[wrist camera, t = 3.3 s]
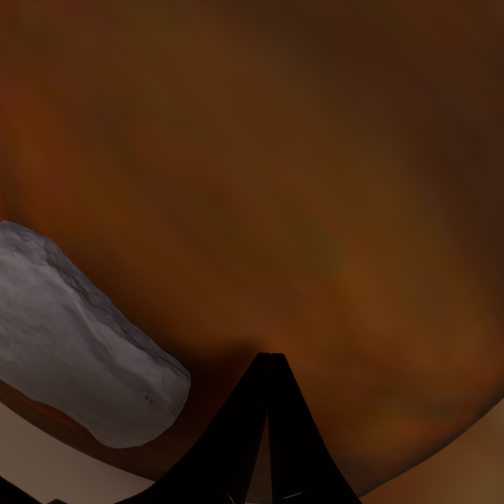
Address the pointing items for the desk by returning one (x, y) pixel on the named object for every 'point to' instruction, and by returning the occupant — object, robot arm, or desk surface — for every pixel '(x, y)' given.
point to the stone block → (80, 347)
